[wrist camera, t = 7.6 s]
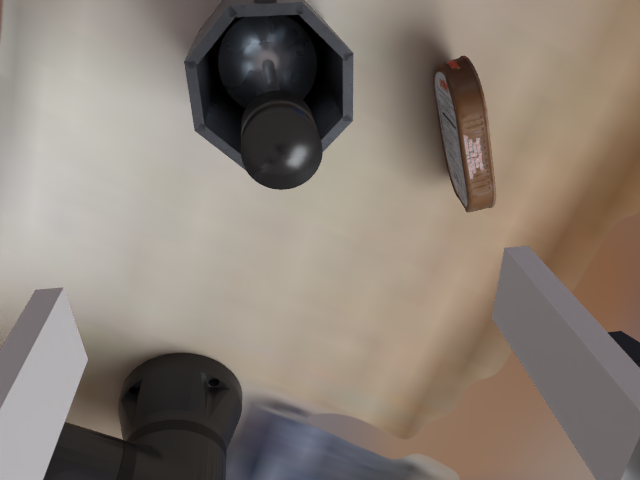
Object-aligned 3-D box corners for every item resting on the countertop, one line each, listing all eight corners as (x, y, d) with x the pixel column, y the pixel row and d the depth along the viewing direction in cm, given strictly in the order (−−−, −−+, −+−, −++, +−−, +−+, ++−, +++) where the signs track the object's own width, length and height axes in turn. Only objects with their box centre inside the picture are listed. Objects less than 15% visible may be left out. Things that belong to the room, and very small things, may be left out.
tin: (473, 184, 57) (506, 221, 49) (445, 193, 57) (474, 231, 49) (454, 46, 49) (490, 65, 42) (421, 56, 49) (452, 77, 42)
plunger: (317, 108, 45) (361, 217, 28) (224, 114, 44) (210, 229, 27) (314, 9, 41) (363, 63, 24) (212, 13, 40) (186, 73, 23)
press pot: (327, 108, 50) (352, 163, 38) (212, 115, 49) (201, 174, 37) (324, -54, 43) (354, -50, 31) (190, -50, 42) (168, -43, 30)
